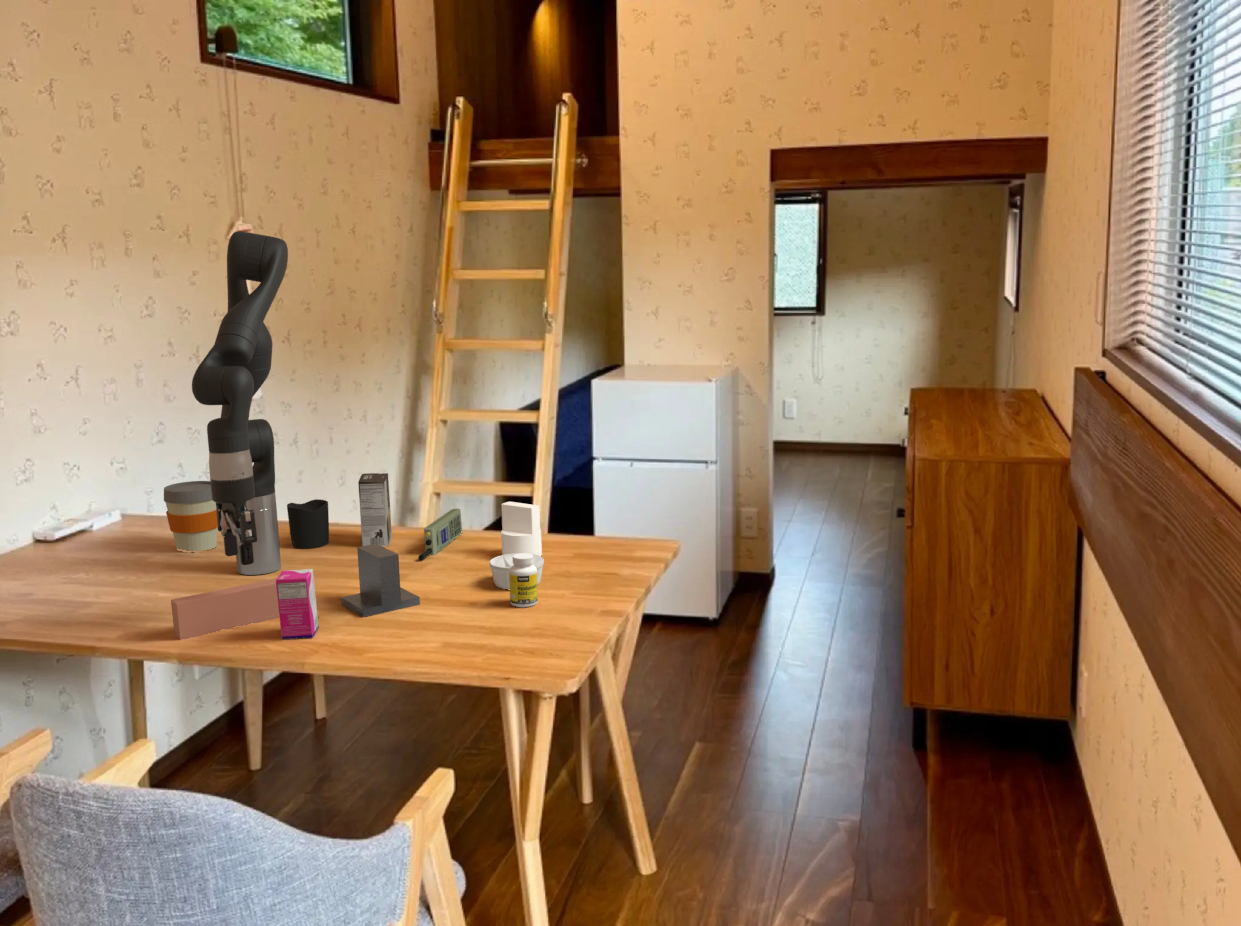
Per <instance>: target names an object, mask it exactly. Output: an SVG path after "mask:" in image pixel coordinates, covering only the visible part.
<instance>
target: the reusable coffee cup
mask: <svg viewBox="0 0 1241 926" xmlns="http://www.w3.org/2000/svg"><path fill="white" fill-rule="evenodd" d="M163 501H164V503H165V504H166V505H165V507H166V510H167V511H166V512H165V513H166V518H167V522H168V526H169V530H170V531H171V533H172V535H173V539H174V543H175V546H176V547H177V548H178V549H182V550H186V551H202V550H207V549H212V548H214V549H216V548H217V547H218V533H219V531H218V523H217V510H216V502H214V501H213V500H212V493H211V482H210V480H194V481H184V482H183V481H182V482H177V483H172V484H169V485H167V486H165V487H163ZM216 546H217V547H216ZM176 547H175V548H176ZM215 547H216V548H215ZM177 548H176V549H177ZM212 550H213V549H212Z"/></svg>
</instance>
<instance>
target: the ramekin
mask: <svg viewBox="0 0 1241 926" xmlns="http://www.w3.org/2000/svg"><path fill="white" fill-rule="evenodd" d="M515 554H520V553H513V554H505V555H498V556H495V557H493V558H491V559H490V560H489V563H488V564H489V568H490V570H491V575H492V579H493V583H494V584H495V587H497V588H499V589H501V588H502V589H501V590H505V589H510V576H509V571H510V568H511V567H512V566H513V565H514V564H513V555H515ZM528 554H530V553H528ZM532 555H533V563H532V565H534V566H535V567H536V568H537V586H538V585H539V584H540V582H541V580H542V575H543V566H544V564H545V559H544V557H543V556H542V557H541V556H539V555H536V554H532Z"/></svg>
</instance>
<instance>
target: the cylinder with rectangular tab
mask: <svg viewBox="0 0 1241 926" xmlns="http://www.w3.org/2000/svg"><path fill="white" fill-rule="evenodd" d="M540 512H541V511H540V505H538V504H529V503H524V502H523V503H522V502H517V501H516V502H515V501H506V502H503V503H501V526H502V530H501V531H500V532H501V533H500V535H501V553H502V555H505V554H513V553H530V554H536V555H539V556H541V555H542V556H543V548H542V529H541V513H540Z"/></svg>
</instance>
